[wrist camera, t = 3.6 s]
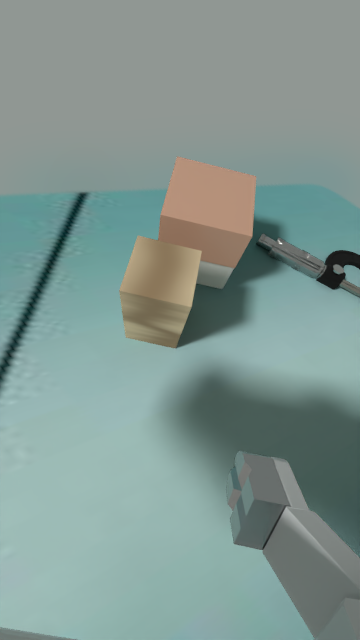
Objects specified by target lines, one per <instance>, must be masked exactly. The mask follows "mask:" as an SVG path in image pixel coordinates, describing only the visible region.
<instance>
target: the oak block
mask: <svg viewBox="0 0 360 640" xmlns="http://www.w3.org/2000/svg"><path fill="white" fill-rule="evenodd" d="M201 253H202V251H200V250H195V249H191V248H187V247H183V246H179V245H175V244H170V243H166V242H162V241H158V240H154V239H150V238H145V237H141V236H138V237H137V240H136V243H135V246H134V249H133V252H132V255H131V258H130V261H129V264H128V267H127V270H126V272H125V275H124V278H123V281H122V284H121V287H120V290H119V291H120V299H121V306H122V313H123V320H124V328H125V335H126V338H130V339H135V340H139V341H144V342H148V343H153V344H158V345H162V346H167V347H171V348H176V346H177V343H178V341H179V338H180V336H181V333H182V330H183V328H184V325H185V323H186V320H187V318H188V315H189V312H190V310H191V307H192V302H193V296H194V291H195V286H196V280H197V275H198V269H199V264H200V258H201Z"/></svg>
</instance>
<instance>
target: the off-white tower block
mask: <svg viewBox="0 0 360 640" xmlns="http://www.w3.org/2000/svg"><path fill="white" fill-rule="evenodd" d="M233 269H234V268H231V267H227V266H222V265H218V264H214V263H209V262H205V261H201V260H200V264H199V269H198V275H197V280H196V283H197V284H201V285H206V286H210V287H214V288H219V289H223V288H224V286H225V284H226V282H227V280H228V278H229V277H230V275H231V273H232V271H233Z"/></svg>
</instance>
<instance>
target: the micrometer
mask: <svg viewBox="0 0 360 640" xmlns="http://www.w3.org/2000/svg"><path fill="white" fill-rule="evenodd" d="M256 244H257V245H259V246H260V245H261V246H263V247H264V248H266V249H268V250H270V251H269V253H268V255H270V256H272V257H273V258H276V259H278V260H280V261H282V262H284V263H285V264H287V265H289V266H291V267H292V268H294V269H296V270H297V271H300V272H302V273H304V274H306V275H308V276H309V277H311V278H317V281H319V282H320V283H322V284H324V285H326V286H328V287H330V288H331V289H335V288H337V287H338V286H340V287H342V288H344V289H346V290H348V291H349V292H351V293H353V294H355V295H357V296H359V297H360V288H359V287H357V286H355V285H354V284H352V283H350V282H348V281H346V280H344V278H345V275H346V274H345V273H344V269H343V266H344V265H353V266H355V267H357V268H359V269H360V255H358V254H356V253H353V252H350V251H344V250H339V251H335V252H333V253H331V254H330V255H329V256H328V257H327V259H326V261H325V263H324V262H323V261H322V260H320V259H318V258H316V257H314V256H312V255H310V253H308V252H306V251H304V250H301V249H299V248H297V247H295V246H294V245H292V244H290V243H288V242H286V241H285V240H283V239H281V238H280V237H278V238H277V240H276V241H275V240H273V239H271V238H269V237H268V236H266V235H265V234H264V233H262V235H261V237H260V238H259V240H258V242H257V243H256Z"/></svg>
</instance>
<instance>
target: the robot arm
mask: <svg viewBox="0 0 360 640" xmlns="http://www.w3.org/2000/svg"><path fill="white" fill-rule="evenodd" d="M234 460H235V465H236V467H234V468H232V469H231V470H230V472H229V475H228V478H227V486H226V494H227V502H228V505H229V506H230V507H231V509H232V510H233V512H232V515H231V517H230V523H231V529H232V536H233V542H234V544H236V545H241V546H246V547H250V548H255V549H259V550H263V554H264V555H265V557H266V559H267V560H268V562H269V564H270V565H271V567H272V569H273V570H274V572H275V574H276V575H277V577H278V579H279V580H280V582H281V584H282V585H283V587H284V589H285V590H286V592H287V593H288V595H289V597H290V598H291V600H292V602H293V603H294V605H295V607H296V608H297V610H298V612H299V613H300V615H301V617H302V618H303V620H304V622H305V623H306V625H307V627H308V628H309V630H310V632H311V633H312V635H313V637H314V638H315V639H314V640H360V558H359V557H358V556H357V555H356V554H355V553H354V552H353V550H352V549H351V548H350V547H349V546H348V545H347V544H346V543H345V542H344V541H343V540H342V539H341V538H340V537H339V536H338V535H337V534H336V533H335V532H334V531H333V530H332V529H331V528H330V527H329V526H328V525H327V524H326V523H325V522H324V521H323V520H322V519H321V518H320V517H319V516H318V515H317V514H316V513H315V512H313V511H310V510H309V508H308V506H307V503H306V501H305V499H304V497H303V494H302V492H301V490H300V488H299V485H298V483H297V481H296V478H295V476H294V474H293V472H292V469H291V467H290V465H289V463H288V461H287V460H286V459H282V458H276V457H271V456H270V457H269V456H265V455H260V454H254V453H249V452H244V451H239V452H238V453H237V454H236V457H235V459H234ZM0 640H76V639H70V638H64V637H57V636H51V635H45V634H39V633H32V632H26V631H20V630H14V629H8V628H1V627H0Z"/></svg>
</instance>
